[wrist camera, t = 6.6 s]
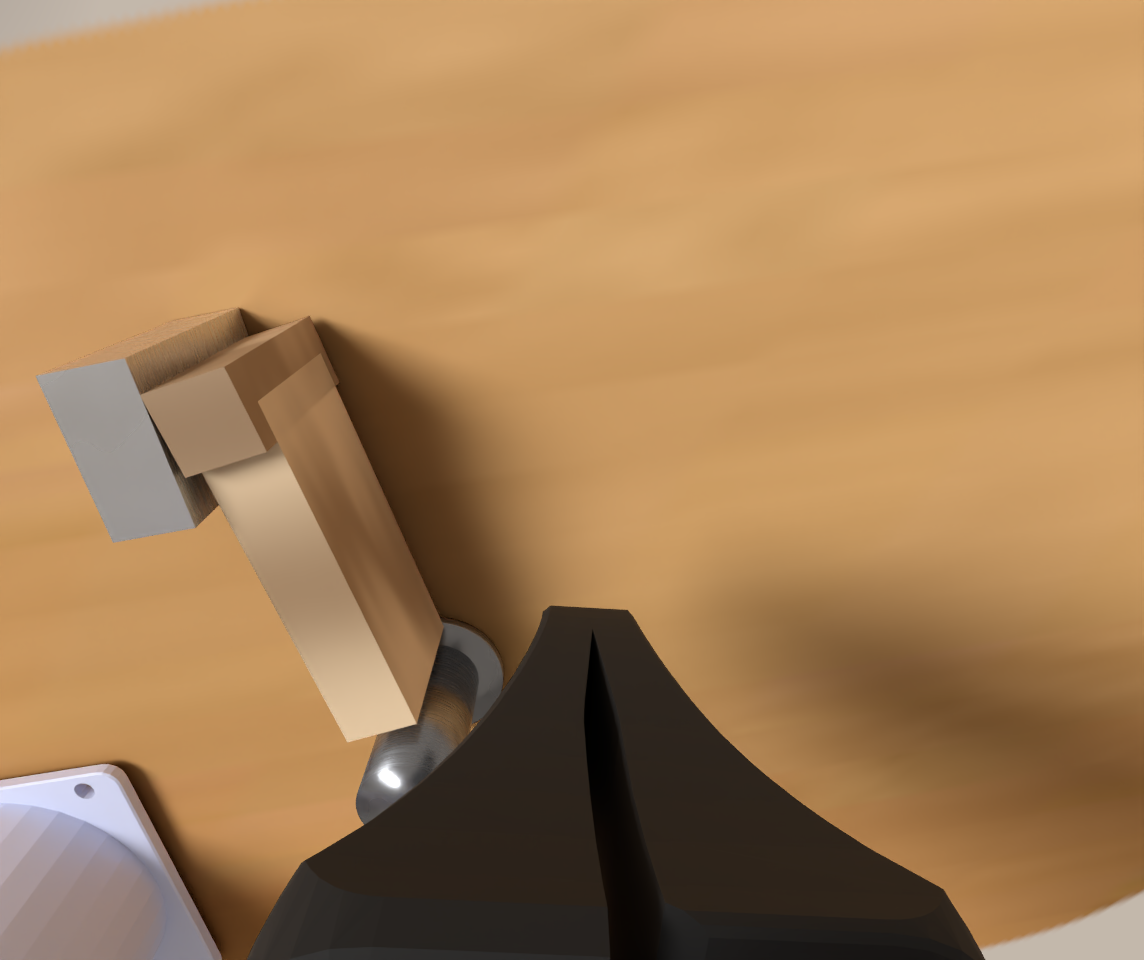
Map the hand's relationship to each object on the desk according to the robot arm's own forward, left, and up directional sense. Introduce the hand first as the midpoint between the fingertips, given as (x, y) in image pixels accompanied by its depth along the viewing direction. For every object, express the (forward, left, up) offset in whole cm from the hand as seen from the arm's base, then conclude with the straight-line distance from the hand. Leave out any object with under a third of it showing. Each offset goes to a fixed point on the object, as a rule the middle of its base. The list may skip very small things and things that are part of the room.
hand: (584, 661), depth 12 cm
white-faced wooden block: (-7, +4, -6) cm, 10 cm away
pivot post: (-4, -4, -6) cm, 9 cm away
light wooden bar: (-5, +1, -6) cm, 8 cm away
